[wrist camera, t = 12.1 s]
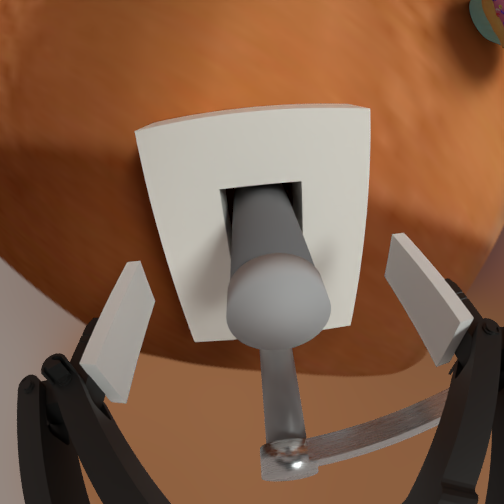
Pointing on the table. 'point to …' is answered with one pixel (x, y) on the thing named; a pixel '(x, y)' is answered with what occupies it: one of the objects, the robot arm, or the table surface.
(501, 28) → the cupcake
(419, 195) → the table surface
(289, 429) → the socket block
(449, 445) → the robot arm
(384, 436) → the clip
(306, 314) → the plug
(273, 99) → the table surface
